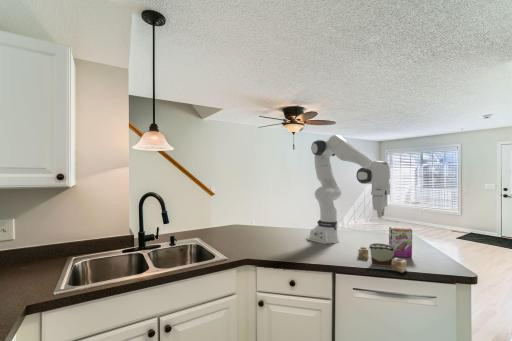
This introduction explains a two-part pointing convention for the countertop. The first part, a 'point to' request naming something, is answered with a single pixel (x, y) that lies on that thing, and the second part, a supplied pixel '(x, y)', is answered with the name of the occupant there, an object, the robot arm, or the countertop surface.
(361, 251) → the labelled block
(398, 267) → the labelled block
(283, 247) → the countertop surface
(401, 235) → the candy bar box
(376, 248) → the food container
